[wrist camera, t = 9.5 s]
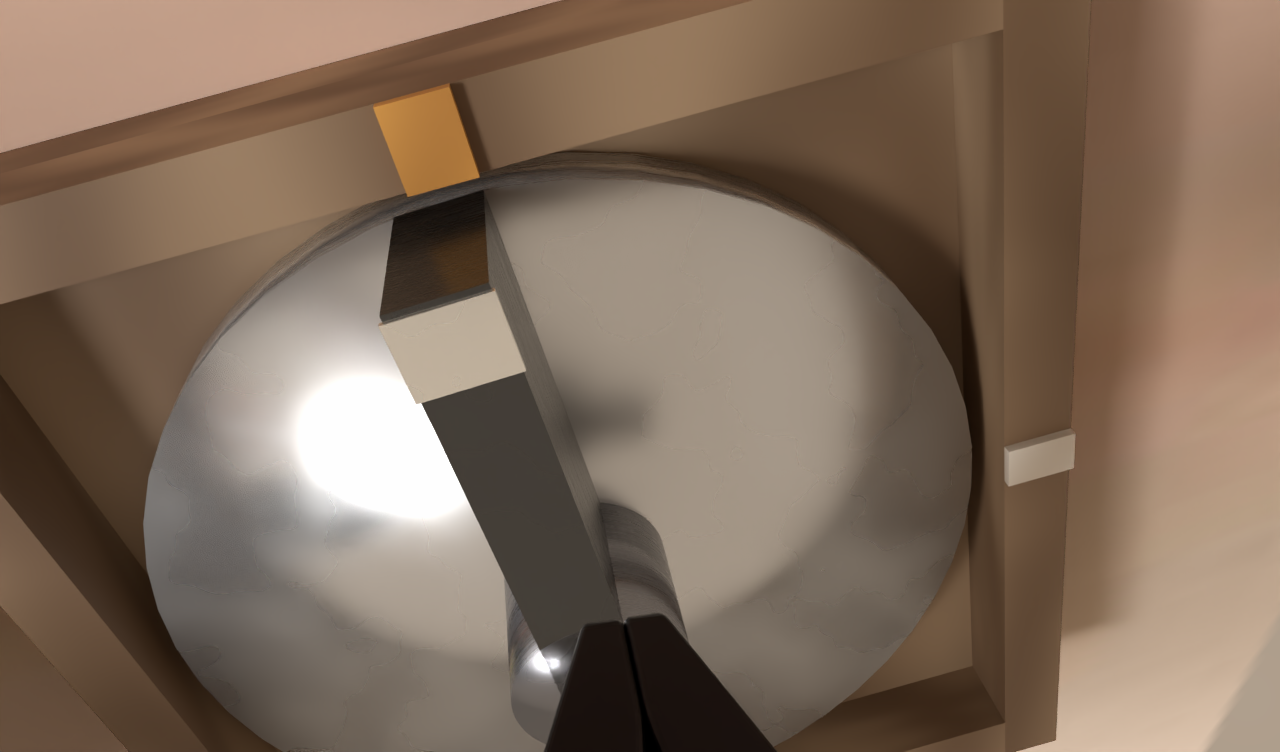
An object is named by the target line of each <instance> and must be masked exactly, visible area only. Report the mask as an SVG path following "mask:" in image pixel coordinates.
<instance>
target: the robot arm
mask: <svg viewBox="0 0 1280 752" xmlns="http://www.w3.org/2000/svg"><path fill="white" fill-rule="evenodd" d="M544 752H777V750H776V749H775V748H774V747H773V745H772V744H771V743H770V742H769V741H768V739H767V738H766V737H765V736H764V734H763V733H762V732H761V731H760V730H759V728H758V727H757V726H756V725H755V723H754V722H753V721H752V720H751V719H750V717H749V716H748V715H747V714H746V712H745V711H744V710H743V709H742V708H741V706H740V705H739V704H738V703H737V701H736V700H735V699H734V698H733V697H732V695H731V694H730V693H729V692H728V690H727V689H726V688H725V687H724V686H723V684H722V683H721V682H720V681H719V679H718V678H717V677H716V676H715V675H714V673H713V672H712V671H711V670H710V668H709V667H708V666H707V665H706V664H705V662H704V661H703V660H702V659H701V657H700V656H699V655H698V654H697V653H696V651H695V650H694V649H693V648H692V646H691V645H690V644H689V643H688V642H687V640H686V639H685V638H684V637H683V635H682V634H681V633H680V632H679V631H678V629H677V628H676V627H675V626H674V624H673V623H672V622H671V621H670V620H669V618H668V617H667V616H665V615H664V614H662V613H651V614H644V615H637V616H630V617H628V618H627V619H626V620H625V622H624V624H623V622H622V621H621V620H619V619H610V620H603V621H596V622H589V623H586V624H585V625H583V627H582V628H581V630H580V633H579V637H578V640H577V643H576V647H575V650H574V653H573V656H572V660H571V663H570V666H569V670H568V673H567V676H566V680H565V683H564V686H563V690H562V693H561V696H560V699H559V703H558V706H557V709H556V713H555V716H554V719H553V723H552V726H551V729H550V733H549V736H548V739H547V743H546V746H545V749H544Z"/></svg>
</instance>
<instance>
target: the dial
mask: <svg viewBox="0 0 1280 752" xmlns="http://www.w3.org/2000/svg"><path fill="white" fill-rule="evenodd" d="M971 477H972V444H971V438H970V431H969V425H968V418H967V412H966V406H965V403H964V400H963V397H962V395H961V392H960V389H959V386H958V383H957V380H956V377H955V374H954V371H953V368H952V366H951V364H950V362H949V361H948V359H947V357H946V355H945V353H944V352H943V350H942V348H941V346H940V344H939V343H938V341H937V339H936V337H935V335H934V334H933V332H932V330H931V328H930V327H929V326H928V325H927V323H926V322H925V321H924V320H923V318H922V317H921V316H920V315H919V313H918V312H917V311H916V310H915V309H914V307H913V306H912V305H911V304H910V302H909V301H908V300H907V299H906V297H905V296H904V295H903V294H902V292H901V291H900V290H899V289H898V288H897V286H896V285H895V284H894V283H893V282H892V281H891V279H890V278H889V277H888V276H887V275H886V273H885V272H884V271H883V270H882V269H881V267H880V266H879V265H878V264H877V263H876V262H875V261H874V260H873V259H872V258H871V257H870V256H869V255H868V254H866V253H865V252H864V251H863V250H862V249H861V248H860V247H859V246H857V245H856V244H855V243H854V242H853V241H852V240H851V239H850V238H849V237H847V236H846V235H845V234H844V233H843V232H842V231H841V230H840V229H838V228H836V227H835V226H833V225H832V224H830V223H829V222H827V221H826V220H824V219H823V218H821V217H819V216H818V215H816V214H815V213H813V212H812V211H810V210H809V209H807V208H805V207H804V206H802V205H801V204H799V203H798V202H796V201H794V200H792V199H789V198H787V197H785V196H783V195H781V194H778V193H776V192H774V191H772V190H770V189H767V188H765V187H763V186H761V185H759V184H756V183H754V182H752V181H750V180H747V179H745V178H741V177H738V176H735V175H731V174H728V173H724V172H721V171H717V170H714V169H711V168H707V167H704V166H700V165H697V164H693V163H690V162H683V161H677V160H670V159H663V158H657V157H650V156H643V155H637V154H630V153H582V152H564V153H555V154H547V155H543V156H539V157H536V158H532V159H529V160H525V161H521V162H518V163H514V164H510V165H507V166H503V167H499V168H496V169H492V170H488V171H485V172H481V173H480V177H479V178H476V179H472V180H468V181H465V182H461V183H457V184H454V185H450V186H446V187H443V188H439V189H435V190H432V191H428V192H425V193H421V194H417V195H414V196H410V197H407V194H406V193H405V194H401V195H397V196H394V197H390V198H386V199H383V200H379V201H375V202H372V203H368V204H366V205H364V206H362V207H360V208H358V209H356V210H354V211H353V212H351V213H349V214H347V215H345V216H343V217H341V218H340V219H338V220H336V221H334V222H332V223H330V224H328V225H326V226H325V227H323V228H322V229H321V230H319V231H318V232H317V233H315V234H314V235H312V236H311V237H310V238H308V239H307V240H306V241H304V242H303V243H302V244H300V245H299V246H297V247H296V248H295V249H293V250H292V251H291V252H289V253H288V254H286V255H285V256H284V257H282V258H281V259H280V260H278V261H277V262H276V263H275V264H274V265H273V266H272V267H271V268H270V269H269V270H268V271H267V272H266V273H265V274H264V275H263V276H262V277H261V278H260V279H259V280H258V281H257V282H256V283H255V284H253V285H252V286H251V287H250V288H249V289H248V290H247V291H246V292H245V293H244V294H243V295H242V296H241V297H240V298H239V299H238V300H237V301H236V302H235V304H234V305H233V306H232V308H231V309H230V311H229V312H228V313H227V315H226V316H225V317H224V319H223V320H222V321H221V323H220V324H219V325H218V327H217V328H216V329H215V331H214V332H213V333H212V335H211V336H210V337H209V339H208V340H207V341H206V343H205V344H204V346H203V348H202V350H201V352H200V354H199V356H198V358H197V360H196V362H195V363H194V365H193V367H192V369H191V371H190V373H189V375H188V377H187V379H186V381H185V383H184V385H183V387H182V389H181V391H180V393H179V395H178V398H177V400H176V402H175V404H174V407H173V409H172V411H171V413H170V416H169V418H168V420H167V422H166V425H165V427H164V429H163V432H162V435H161V438H160V441H159V445H158V448H157V451H156V455H155V458H154V461H153V464H152V468H151V471H150V474H149V477H148V486H147V495H146V504H145V512H144V521H143V527H144V540H145V553H146V566H147V571H148V575H149V579H150V582H151V586H152V590H153V593H154V597H155V601H156V605H157V608H158V611H159V613H160V615H161V617H162V619H163V622H164V624H165V626H166V628H167V630H168V632H169V634H170V636H171V638H172V641H173V643H174V645H175V647H176V649H177V650H178V651H179V653H180V654H181V656H182V657H183V659H184V660H185V662H186V663H187V664H188V666H189V667H190V669H191V670H192V672H193V673H194V674H195V676H196V677H197V679H198V680H199V682H200V683H201V684H202V685H203V686H204V687H205V688H206V689H207V690H208V691H209V692H210V693H211V694H212V695H213V696H214V698H215V699H216V700H217V701H218V702H219V703H220V704H221V705H222V706H223V707H224V708H225V709H226V710H227V711H228V712H229V713H230V714H231V715H232V716H234V717H235V718H236V719H238V720H239V721H240V722H241V723H243V724H244V725H245V726H246V727H248V728H249V729H250V730H251V731H253V732H254V733H255V734H256V735H258V736H259V737H260V738H261V739H263V740H265V741H266V742H268V743H269V744H271V745H273V746H274V747H276V748H278V749H279V750H281V751H283V752H544V749H545V746H546V743H547V739H548V736H549V733H550V729H551V726H552V723H553V719H554V716H555V713H556V709H557V706H558V703H559V699H560V696H561V693H562V690H563V686H564V683H565V680H566V676H567V673H568V670H569V666H570V663H571V660H572V656H573V653H574V650H575V647H576V643H577V640H578V637H579V633H580V630H581V628H582V627H583V625H585V624H586V623H589V622H596V621H603V620H610V619H619V620H621V621H622V622H623V624H624V622H625V620H626V619H627V618H628V617H630V616H637V615H644V614H651V613H662V614H664V615H665V616H667V617H668V618H669V620H670V621H671V622H672V623H673V624H674V626H675V627H676V628H677V629H678V631H679V632H680V633H681V634H682V635H683V637H684V638H685V639H686V640H687V642H688V643H689V644H690V645H691V646H692V648H693V649H694V650H695V651H696V653H697V654H698V655H699V656H700V657H701V659H702V660H703V661H704V662H705V664H706V665H707V666H708V667H709V668H710V670H711V671H712V672H713V673H714V675H715V676H716V677H717V678H718V679H719V681H720V682H721V683H722V684H723V686H724V687H725V688H726V689H727V690H728V692H729V693H730V694H731V695H732V697H733V698H734V699H735V700H736V701H737V703H738V704H739V705H740V706H741V708H742V709H743V710H744V711H745V712H746V714H747V715H748V716H749V717H750V719H751V720H752V721H753V722H754V723H755V725H756V726H757V727H758V728H759V730H760V731H761V732H762V733H763V734H764V736H765V737H766V738H767V739H768V741H769V742H770V743H771V744H772V745H773V747H774V746H776V745H778V744H780V743H781V742H783V741H785V740H787V739H789V738H791V737H792V736H794V735H795V734H797V733H798V732H800V731H801V730H803V729H804V728H806V727H808V726H809V725H811V724H812V723H814V722H815V721H817V720H818V719H820V718H821V717H823V716H824V715H826V714H827V713H828V712H830V711H831V710H832V709H833V708H835V707H836V706H837V705H838V704H840V703H841V702H842V701H843V700H845V699H846V698H847V697H849V696H850V695H851V694H852V693H854V692H855V691H856V690H857V689H858V688H860V687H861V686H862V685H863V684H864V683H865V682H866V681H867V680H868V679H869V678H870V677H871V676H872V675H873V674H874V673H875V672H876V671H877V670H878V669H879V668H880V667H881V666H882V665H883V664H884V663H885V662H886V661H887V660H888V659H889V658H890V657H891V656H892V654H893V653H894V652H895V651H896V650H897V648H898V647H899V646H900V645H901V644H902V643H903V641H904V640H905V639H906V638H907V637H908V635H909V634H910V633H911V632H912V631H913V629H914V628H915V626H916V625H917V623H918V622H919V620H920V619H921V617H922V616H923V614H924V613H925V611H926V610H927V608H928V607H929V605H930V604H931V602H932V600H933V599H934V597H935V596H936V594H937V591H938V589H939V587H940V585H941V583H942V581H943V579H944V577H945V575H946V573H947V571H948V569H949V567H950V565H951V563H952V561H953V558H954V555H955V552H956V549H957V546H958V543H959V540H960V537H961V534H962V531H963V528H964V525H965V519H966V514H967V508H968V503H969V497H970V491H971Z"/></svg>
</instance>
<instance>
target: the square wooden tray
mask: <svg viewBox="0 0 1280 752" xmlns="http://www.w3.org/2000/svg"><path fill="white" fill-rule="evenodd" d="M1090 15H1091V0H562V1H558V2H555V3H551V4H547V5H543V6H540V7H536V8H532V9H529V10H525V11H521V12H518V13H514V14H510V15H507V16H503V17H499V18H496V19H492V20H488V21H485V22H481V23H477V24H474V25H470V26H466V27H463V28H459V29H455V30H452V31H448V32H444V33H441V34H437V35H433V36H430V37H426V38H422V39H419V40H415V41H411V42H408V43H404V44H400V45H397V46H393V47H389V48H386V49H382V50H378V51H375V52H371V53H367V54H364V55H360V56H356V57H353V58H349V59H345V60H341V61H338V62H334V63H330V64H327V65H323V66H319V67H316V68H312V69H308V70H305V71H301V72H297V73H294V74H290V75H286V76H283V77H279V78H275V79H272V80H268V81H264V82H261V83H257V84H253V85H250V86H246V87H242V88H239V89H235V90H231V91H228V92H224V93H220V94H217V95H213V96H209V97H206V98H202V99H198V100H195V101H191V102H187V103H184V104H180V105H176V106H173V107H169V108H165V109H162V110H158V111H154V112H150V113H147V114H143V115H139V116H136V117H132V118H128V119H125V120H121V121H117V122H114V123H110V124H106V125H103V126H99V127H95V128H92V129H88V130H84V131H81V132H77V133H73V134H70V135H66V136H62V137H59V138H55V139H51V140H48V141H44V142H40V143H37V144H33V145H29V146H26V147H22V148H18V149H15V150H11V151H7V152H4V153H0V606H1V607H2V609H3V610H4V611H5V612H6V613H7V614H8V615H9V616H10V618H11V619H12V620H13V621H14V622H15V623H16V624H17V626H18V627H19V628H20V629H21V630H22V631H23V632H24V633H25V635H26V636H27V637H28V638H29V639H30V640H31V641H32V642H33V644H34V645H35V646H36V647H37V648H38V649H39V650H40V652H41V653H42V654H43V655H44V656H45V657H46V658H47V659H48V661H49V662H50V663H51V664H52V665H53V666H54V667H55V668H56V670H57V671H58V672H59V673H60V674H61V675H62V676H63V677H64V679H65V680H66V681H67V682H68V683H69V684H70V685H71V687H72V688H73V689H74V690H75V691H76V692H77V693H78V694H79V696H80V697H81V698H82V699H83V700H84V701H85V702H86V703H87V705H88V706H89V707H90V708H91V709H92V710H93V711H94V713H95V714H96V715H97V716H98V717H99V718H100V719H101V720H102V722H103V723H104V724H105V725H106V726H107V727H108V728H109V729H110V731H111V732H112V733H113V734H114V735H115V736H116V737H117V739H118V740H119V741H120V742H121V743H122V744H123V745H124V746H125V748H126V749H127V750H128V751H129V752H283V751H281V750H279V749H278V748H276V747H274V746H273V745H271V744H269V743H268V742H266V741H265V740H263V739H261V738H260V737H259V736H258V735H256V734H255V733H254V732H253V731H251V730H250V729H249V728H248V727H246V726H245V725H244V724H243V723H241V722H240V721H239V720H238V719H236V718H235V717H234V716H232V715H231V714H230V713H229V712H228V711H227V710H226V709H225V708H224V707H223V706H222V705H221V704H220V703H219V702H218V701H217V700H216V699H215V698H214V696H213V695H212V694H211V693H210V692H209V691H208V690H207V689H206V688H205V687H204V686H203V685H202V684H201V683H200V682H199V680H198V679H197V677H196V676H195V674H194V673H193V672H192V670H191V669H190V667H189V666H188V664H187V663H186V662H185V660H184V659H183V657H182V656H181V654H180V653H179V651H178V650H177V649H176V647H175V645H174V643H173V641H172V638H171V636H170V634H169V632H168V630H167V628H166V626H165V624H164V622H163V619H162V617H161V615H160V613H159V611H158V608H157V605H156V601H155V597H154V593H153V590H152V586H151V582H150V579H149V575H148V571H147V566H146V553H145V540H144V527H143V521H144V512H145V504H146V495H147V486H148V477H149V474H150V471H151V468H152V464H153V461H154V458H155V455H156V451H157V448H158V445H159V441H160V438H161V435H162V432H163V429H164V427H165V425H166V422H167V420H168V418H169V416H170V413H171V411H172V409H173V407H174V404H175V402H176V400H177V398H178V395H179V393H180V391H181V389H182V387H183V385H184V383H185V381H186V379H187V377H188V375H189V373H190V371H191V369H192V367H193V365H194V363H195V362H196V360H197V358H198V356H199V354H200V352H201V350H202V348H203V346H204V344H205V343H206V341H207V340H208V339H209V337H210V336H211V335H212V333H213V332H214V331H215V329H216V328H217V327H218V325H219V324H220V323H221V321H222V320H223V319H224V317H225V316H226V315H227V313H228V312H229V311H230V309H231V308H232V306H233V305H234V304H235V302H236V301H237V300H238V299H239V298H240V297H241V296H242V295H243V294H244V293H245V292H246V291H247V290H248V289H249V288H250V287H251V286H252V285H253V284H255V283H256V282H257V281H258V280H259V279H260V278H261V277H262V276H263V275H264V274H265V273H266V272H267V271H268V270H269V269H270V268H271V267H272V266H273V265H274V264H275V263H276V262H277V261H278V260H280V259H281V258H282V257H284V256H285V255H286V254H288V253H289V252H291V251H292V250H293V249H295V248H296V247H297V246H299V245H300V244H302V243H303V242H304V241H306V240H307V239H308V238H310V237H311V236H312V235H314V234H315V233H317V232H318V231H319V230H321V229H322V228H323V227H325V226H326V225H328V224H330V223H332V222H334V221H336V220H338V219H340V218H341V217H343V216H345V215H347V214H349V213H351V212H353V211H354V210H356V209H358V208H360V207H362V206H364V205H366V204H368V203H372V202H375V201H379V200H383V199H386V198H390V197H394V196H397V195H401V194H405V193H406V194H407V197H410V196H414V195H417V194H421V193H425V192H428V191H432V190H435V189H439V188H443V187H446V186H450V185H454V184H457V183H461V182H465V181H468V180H472V179H476V178H479V177H480V173H481V172H485V171H488V170H492V169H496V168H499V167H503V166H507V165H510V164H514V163H518V162H521V161H525V160H529V159H532V158H536V157H539V156H543V155H547V154H555V153H564V152H582V153H630V154H637V155H643V156H650V157H657V158H663V159H670V160H677V161H683V162H690V163H693V164H697V165H700V166H704V167H707V168H711V169H714V170H717V171H721V172H724V173H728V174H731V175H735V176H738V177H741V178H745V179H747V180H750V181H752V182H754V183H756V184H759V185H761V186H763V187H765V188H767V189H770V190H772V191H774V192H776V193H778V194H781V195H783V196H785V197H787V198H789V199H792V200H794V201H796V202H798V203H799V204H801V205H802V206H804V207H805V208H807V209H809V210H810V211H812V212H813V213H815V214H816V215H818V216H819V217H821V218H823V219H824V220H826V221H827V222H829V223H830V224H832V225H833V226H835V227H836V228H838V229H840V230H841V231H842V232H843V233H844V234H845V235H846V236H847V237H849V238H850V239H851V240H852V241H853V242H854V243H855V244H856V245H857V246H859V247H860V248H861V249H862V250H863V251H864V252H865V253H866V254H868V255H869V256H870V257H871V258H872V259H873V260H874V261H875V262H876V263H877V264H878V265H879V266H880V267H881V269H882V270H883V271H884V272H885V273H886V275H887V276H888V277H889V278H890V279H891V281H892V282H893V283H894V284H895V285H896V286H897V288H898V289H899V290H900V291H901V292H902V294H903V295H904V296H905V297H906V299H907V300H908V301H909V302H910V304H911V305H912V306H913V307H914V309H915V310H916V311H917V312H918V313H919V315H920V316H921V317H922V318H923V320H924V321H925V322H926V323H927V325H928V326H929V327H930V328H931V330H932V332H933V334H934V335H935V337H936V339H937V341H938V343H939V344H940V346H941V348H942V350H943V352H944V353H945V355H946V357H947V359H948V361H949V362H950V364H951V366H952V368H953V371H954V374H955V377H956V380H957V383H958V386H959V389H960V392H961V395H962V397H963V400H964V403H965V406H966V412H967V418H968V425H969V431H970V438H971V444H972V477H971V491H970V497H969V503H968V508H967V514H966V519H965V525H964V528H963V531H962V534H961V537H960V540H959V543H958V546H957V549H956V552H955V555H954V558H953V561H952V563H951V565H950V567H949V569H948V571H947V573H946V575H945V577H944V579H943V581H942V583H941V585H940V587H939V589H938V591H937V594H936V596H935V597H934V599H933V600H932V602H931V604H930V605H929V607H928V608H927V610H926V611H925V613H924V614H923V616H922V617H921V619H920V620H919V622H918V623H917V625H916V626H915V628H914V629H913V631H912V632H911V633H910V634H909V635H908V637H907V638H906V639H905V640H904V641H903V643H902V644H901V645H900V646H899V647H898V648H897V650H896V651H895V652H894V653H893V654H892V656H891V657H890V658H889V659H888V660H887V661H886V662H885V663H884V664H883V665H882V666H881V667H880V668H879V669H878V670H877V671H876V672H875V673H874V674H873V675H872V676H871V677H870V678H869V679H868V680H867V681H866V682H865V683H864V684H863V685H862V686H861V687H860V688H858V689H857V690H856V691H855V692H854V693H852V694H851V695H850V696H849V697H847V698H846V699H845V700H843V701H842V702H841V703H840V704H838V705H837V706H836V707H835V708H833V709H832V710H831V711H830V712H828V713H827V714H826V715H824V716H823V717H821V718H820V719H818V720H817V721H815V722H814V723H812V724H811V725H809V726H808V727H806V728H804V729H803V730H801V731H800V732H798V733H797V734H795V735H794V736H792V737H791V738H789V739H787V740H785V741H783V742H781V743H780V744H778V745H776V746H774V748H775V749H776V750H777V752H1016V751H1020V750H1023V749H1027V748H1030V747H1034V746H1037V745H1041V744H1044V743H1048V742H1051V741H1055V740H1056V725H1057V704H1058V683H1059V662H1060V641H1061V621H1062V600H1063V579H1064V558H1065V537H1066V516H1067V495H1068V474H1069V470H1070V469H1073V468H1074V456H1075V437H1076V433H1075V432H1074V431H1073V430H1072V429H1071V412H1072V391H1073V370H1074V349H1075V328H1076V307H1077V286H1078V265H1079V244H1080V224H1081V203H1082V182H1083V161H1084V140H1085V119H1086V98H1087V77H1088V56H1089V35H1090Z"/></svg>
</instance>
